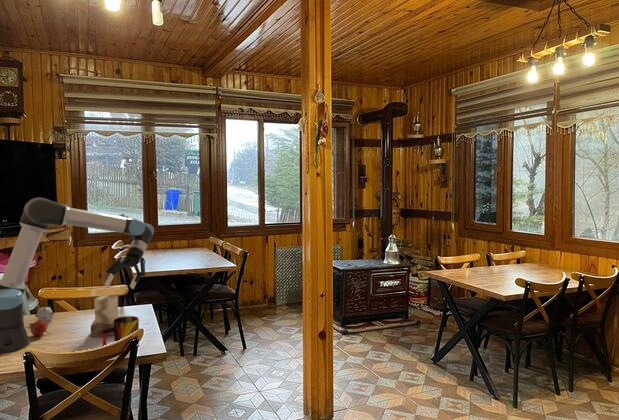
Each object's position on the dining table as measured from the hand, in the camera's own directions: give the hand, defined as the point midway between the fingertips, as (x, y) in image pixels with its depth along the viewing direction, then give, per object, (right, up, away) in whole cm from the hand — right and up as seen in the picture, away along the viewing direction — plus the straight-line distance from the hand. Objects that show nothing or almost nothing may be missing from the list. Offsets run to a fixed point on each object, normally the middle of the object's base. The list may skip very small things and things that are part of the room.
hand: (118, 286), depth 219 cm
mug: (+14, -21, -28) cm, 38 cm away
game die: (-40, -19, +9) cm, 46 cm away
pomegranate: (-31, -21, -10) cm, 39 cm away
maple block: (-2, -14, -8) cm, 16 cm away
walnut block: (-2, -20, -7) cm, 22 cm away
